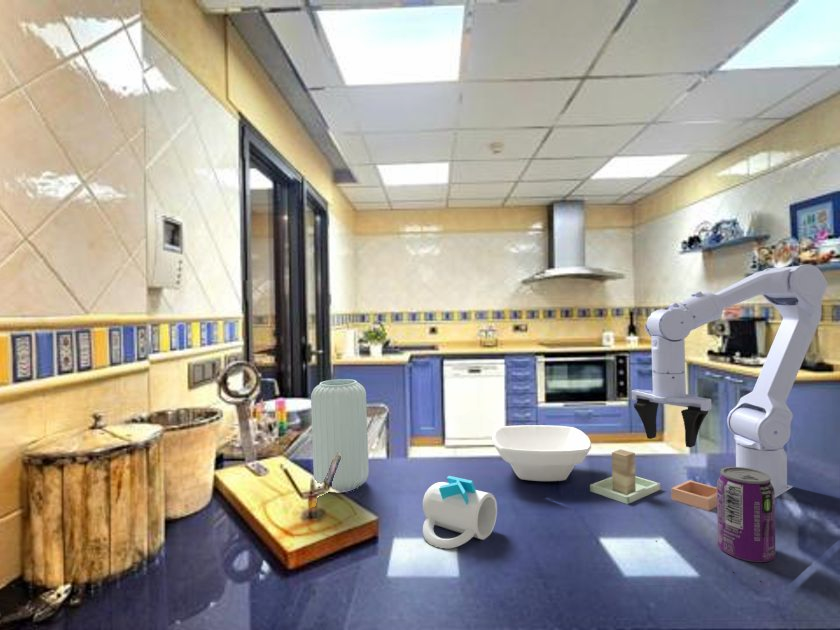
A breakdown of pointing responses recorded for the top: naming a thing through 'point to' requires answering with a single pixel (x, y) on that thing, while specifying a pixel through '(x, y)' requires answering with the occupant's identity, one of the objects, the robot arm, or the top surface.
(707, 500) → the orange open box
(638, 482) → the tray
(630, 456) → the beech pin
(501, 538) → the top surface
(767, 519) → the beverage can
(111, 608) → the top surface
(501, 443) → the bowl
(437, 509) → the mug
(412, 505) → the top surface
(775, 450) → the robot arm
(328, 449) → the vase
